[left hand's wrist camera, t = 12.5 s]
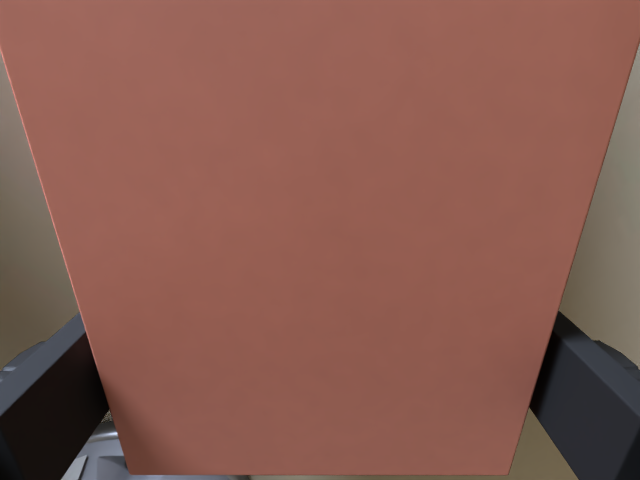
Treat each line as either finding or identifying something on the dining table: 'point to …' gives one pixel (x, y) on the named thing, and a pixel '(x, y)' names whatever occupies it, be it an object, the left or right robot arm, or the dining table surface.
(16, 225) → the dining table surface
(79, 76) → the cabinet
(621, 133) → the dining table surface
